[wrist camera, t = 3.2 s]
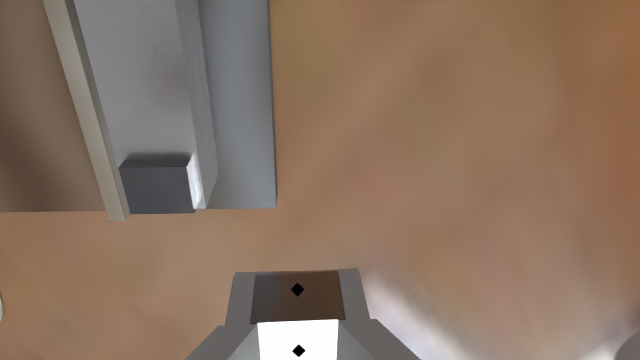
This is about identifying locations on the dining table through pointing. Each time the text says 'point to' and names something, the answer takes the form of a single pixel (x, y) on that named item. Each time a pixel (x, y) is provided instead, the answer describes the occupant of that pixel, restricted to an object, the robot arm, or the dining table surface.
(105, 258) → the dining table surface
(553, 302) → the dining table surface
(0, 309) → the coffee can
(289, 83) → the dining table surface
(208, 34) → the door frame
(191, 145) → the latch bar
